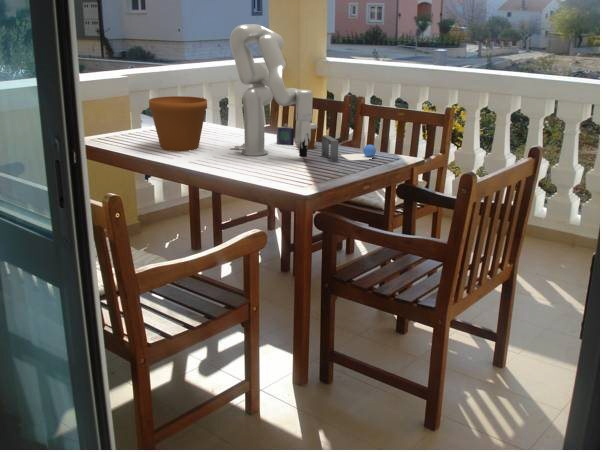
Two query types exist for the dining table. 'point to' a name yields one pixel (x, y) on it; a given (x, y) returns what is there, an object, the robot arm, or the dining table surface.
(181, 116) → the flowerpot
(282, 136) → the flask
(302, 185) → the dining table surface
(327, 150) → the bridge
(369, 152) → the ball
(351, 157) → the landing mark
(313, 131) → the disposable coffee cup
